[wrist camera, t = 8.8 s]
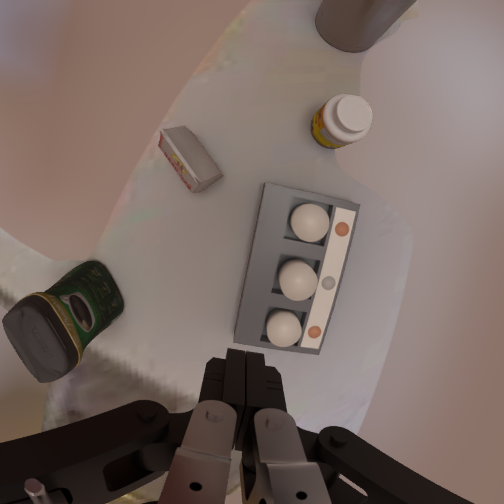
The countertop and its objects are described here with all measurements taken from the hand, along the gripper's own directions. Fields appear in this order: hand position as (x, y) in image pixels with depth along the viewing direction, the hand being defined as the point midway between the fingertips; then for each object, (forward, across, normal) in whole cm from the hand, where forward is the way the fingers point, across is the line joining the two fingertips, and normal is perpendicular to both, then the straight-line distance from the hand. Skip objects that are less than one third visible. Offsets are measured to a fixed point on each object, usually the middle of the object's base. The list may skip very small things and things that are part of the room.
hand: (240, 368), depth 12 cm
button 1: (+27, -7, +10) cm, 30 cm away
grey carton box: (+29, +8, -9) cm, 32 cm away
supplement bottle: (+29, -8, -17) cm, 35 cm away
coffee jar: (+29, +20, +12) cm, 37 cm away
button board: (+29, -7, +3) cm, 30 cm away
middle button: (+26, -7, +3) cm, 27 cm away
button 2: (+27, -7, -4) cm, 29 cm away
